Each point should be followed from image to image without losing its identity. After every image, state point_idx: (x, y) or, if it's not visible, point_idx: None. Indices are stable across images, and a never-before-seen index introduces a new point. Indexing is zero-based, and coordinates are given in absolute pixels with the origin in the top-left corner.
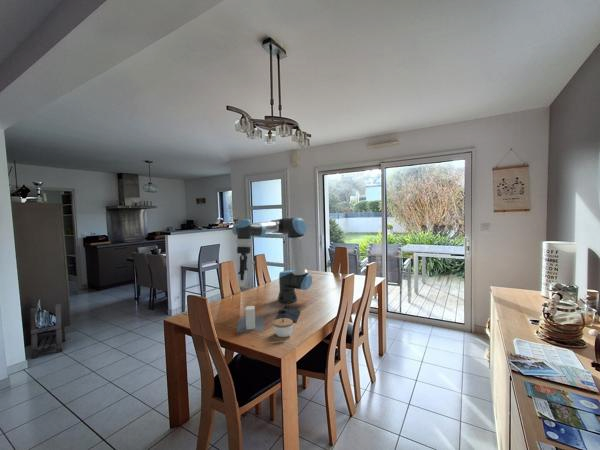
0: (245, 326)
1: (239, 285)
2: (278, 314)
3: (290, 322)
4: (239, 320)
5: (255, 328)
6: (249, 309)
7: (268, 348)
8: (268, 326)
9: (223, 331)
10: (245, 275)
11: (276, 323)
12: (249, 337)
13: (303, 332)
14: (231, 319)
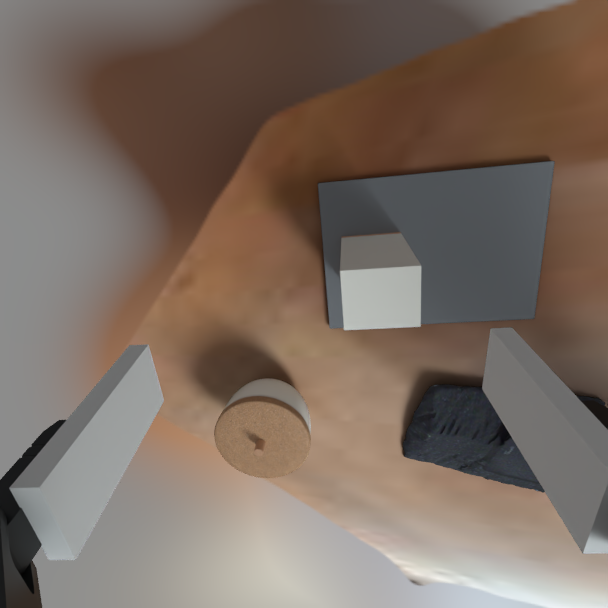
0: (398, 225)
1: (125, 352)
2: None
3: (247, 469)
4: (510, 172)
5: None
6: (342, 297)
7: (163, 342)
8: (385, 341)
9: (365, 91)
10: (528, 449)
11: (238, 414)
12: (267, 258)
13: None
14: (569, 103)
